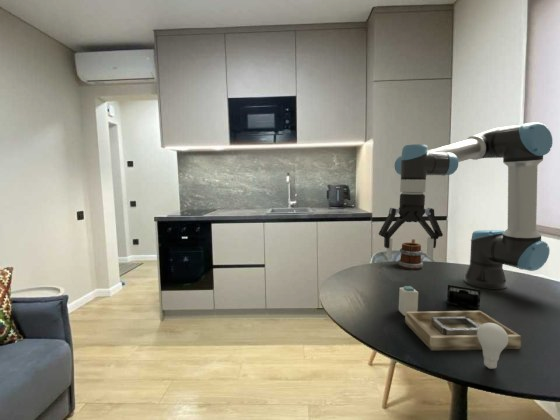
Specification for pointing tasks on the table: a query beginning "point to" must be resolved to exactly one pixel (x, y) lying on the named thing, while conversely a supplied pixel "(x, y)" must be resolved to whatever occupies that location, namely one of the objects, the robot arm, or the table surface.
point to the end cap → (463, 298)
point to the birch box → (437, 341)
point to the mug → (411, 256)
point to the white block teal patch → (408, 299)
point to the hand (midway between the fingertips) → (409, 257)
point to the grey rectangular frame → (462, 320)
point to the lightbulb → (492, 342)
